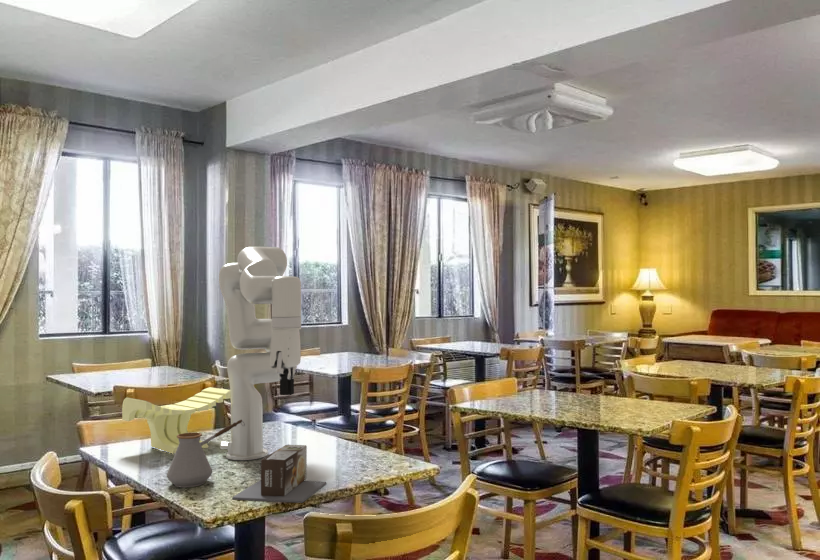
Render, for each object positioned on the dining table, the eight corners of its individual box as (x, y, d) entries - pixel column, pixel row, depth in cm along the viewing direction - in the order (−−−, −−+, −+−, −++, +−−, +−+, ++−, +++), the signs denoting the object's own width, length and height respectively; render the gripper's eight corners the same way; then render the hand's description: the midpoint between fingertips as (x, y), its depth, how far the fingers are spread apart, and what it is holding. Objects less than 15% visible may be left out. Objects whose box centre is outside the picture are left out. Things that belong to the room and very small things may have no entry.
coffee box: (284, 444, 183) (260, 457, 168) (307, 445, 182) (285, 458, 166) (284, 479, 183) (260, 495, 167) (307, 480, 182) (285, 496, 166)
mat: (232, 499, 167) (232, 497, 167) (262, 480, 183) (262, 479, 183) (302, 502, 163) (302, 500, 163) (326, 483, 179) (326, 481, 179)
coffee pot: (176, 492, 174) (175, 432, 174) (160, 483, 183) (159, 426, 183) (253, 477, 187) (253, 421, 188) (235, 469, 196) (235, 416, 196)
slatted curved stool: (205, 436, 244) (204, 386, 245) (230, 442, 234) (230, 390, 234) (122, 452, 222) (122, 396, 222) (146, 459, 211) (146, 400, 212)
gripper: (284, 322, 187) (284, 389, 187) (260, 325, 173) (261, 398, 172) (310, 322, 186) (310, 390, 185) (289, 325, 171) (289, 399, 171)
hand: (287, 394), depth 179 cm, fingers closed
